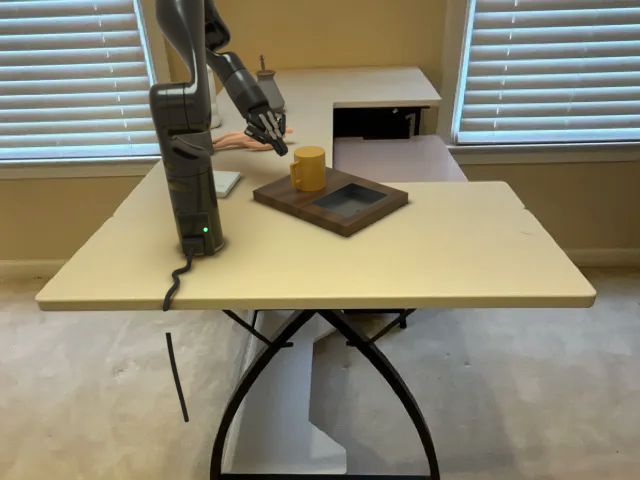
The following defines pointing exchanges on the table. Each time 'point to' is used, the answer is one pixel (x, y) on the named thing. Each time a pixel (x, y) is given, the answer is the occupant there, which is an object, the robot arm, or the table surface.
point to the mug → (308, 168)
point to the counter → (299, 206)
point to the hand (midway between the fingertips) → (284, 154)
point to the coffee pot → (270, 87)
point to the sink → (349, 199)
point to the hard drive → (225, 181)
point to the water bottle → (213, 99)
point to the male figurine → (243, 140)
